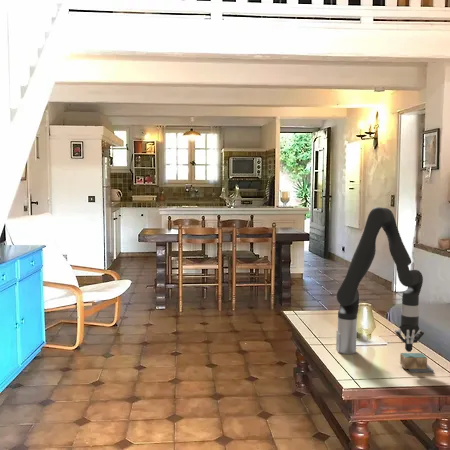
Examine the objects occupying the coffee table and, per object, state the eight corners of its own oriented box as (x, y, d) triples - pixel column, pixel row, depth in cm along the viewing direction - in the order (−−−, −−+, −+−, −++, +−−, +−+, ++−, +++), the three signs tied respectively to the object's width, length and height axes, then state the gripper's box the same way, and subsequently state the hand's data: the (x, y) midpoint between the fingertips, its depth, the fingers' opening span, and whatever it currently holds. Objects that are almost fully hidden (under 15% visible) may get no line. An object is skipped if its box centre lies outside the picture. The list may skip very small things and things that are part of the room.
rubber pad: (410, 372, 229) (411, 370, 229) (403, 364, 239) (403, 362, 239) (433, 372, 229) (433, 370, 228) (425, 364, 238) (425, 362, 238)
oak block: (404, 357, 230) (427, 357, 230) (400, 352, 236) (422, 352, 236) (404, 368, 231) (426, 368, 231) (400, 363, 237) (421, 363, 236)
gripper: (397, 316, 228) (396, 354, 229) (427, 316, 227) (426, 354, 229) (392, 311, 235) (391, 348, 237) (421, 311, 235) (420, 348, 236)
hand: (408, 351), depth 233 cm, fingers closed
